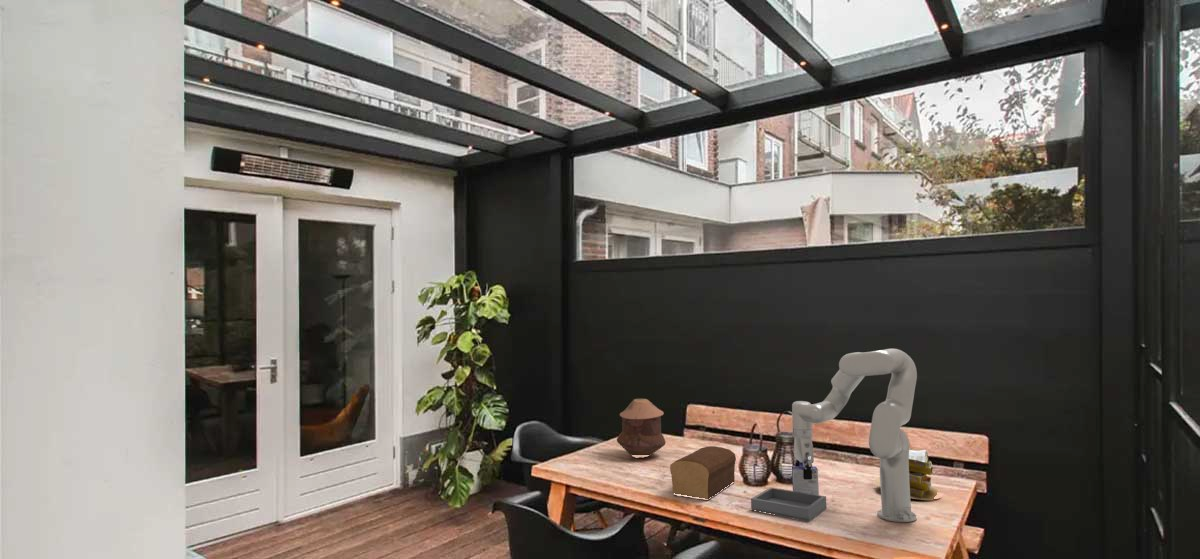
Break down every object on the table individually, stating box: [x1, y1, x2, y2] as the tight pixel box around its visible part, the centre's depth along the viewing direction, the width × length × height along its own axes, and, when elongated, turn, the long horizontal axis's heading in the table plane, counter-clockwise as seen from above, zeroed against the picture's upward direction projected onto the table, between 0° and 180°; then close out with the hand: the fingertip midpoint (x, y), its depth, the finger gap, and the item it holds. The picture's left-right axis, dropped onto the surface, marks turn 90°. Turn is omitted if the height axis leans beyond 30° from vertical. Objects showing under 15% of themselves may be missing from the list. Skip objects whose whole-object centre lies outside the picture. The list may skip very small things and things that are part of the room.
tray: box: [750, 487, 827, 523], centre depth 232 cm, size 22×18×4 cm
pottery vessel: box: [616, 398, 666, 456], centre depth 325 cm, size 26×26×30 cm
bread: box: [669, 445, 737, 499], centre depth 262 cm, size 18×30×16 cm, turn 147°
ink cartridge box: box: [791, 461, 820, 495], centre depth 246 cm, size 10×6×14 cm, turn 79°
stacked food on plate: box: [874, 448, 940, 501], centre depth 250 cm, size 25×25×17 cm
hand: (803, 475), depth 246 cm, fingers open, 9 cm apart
